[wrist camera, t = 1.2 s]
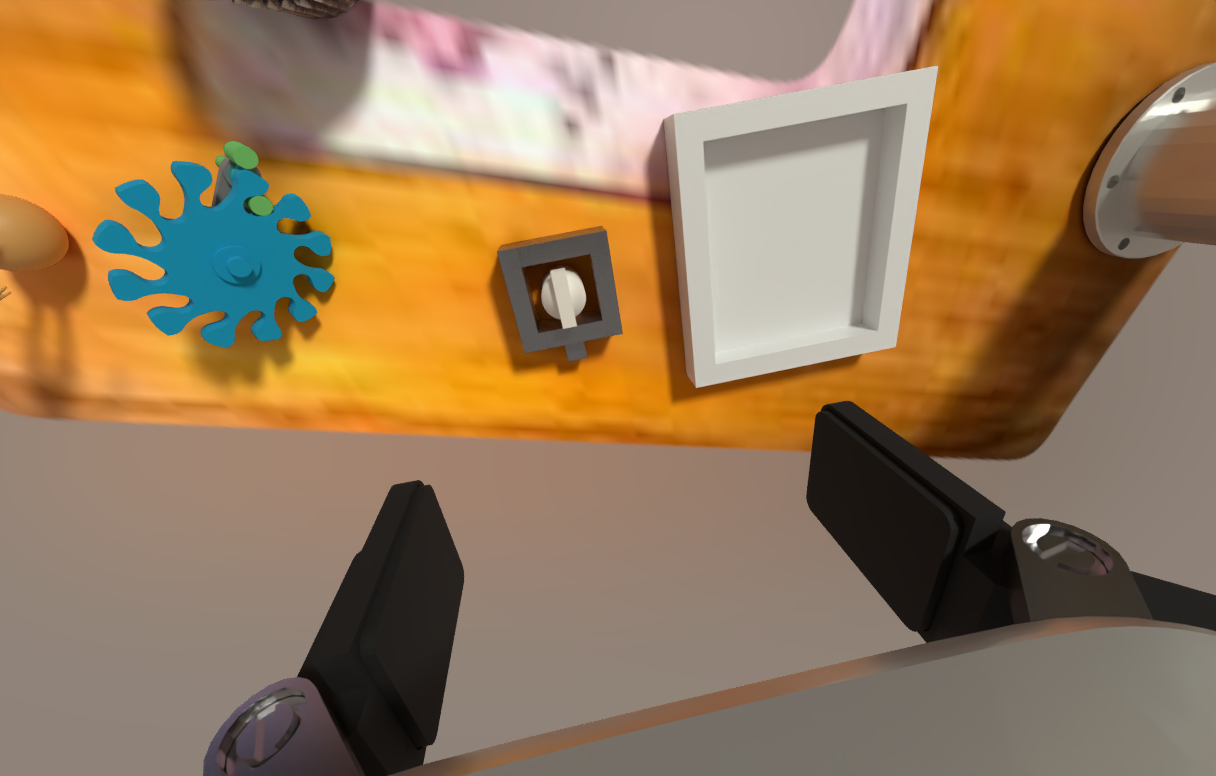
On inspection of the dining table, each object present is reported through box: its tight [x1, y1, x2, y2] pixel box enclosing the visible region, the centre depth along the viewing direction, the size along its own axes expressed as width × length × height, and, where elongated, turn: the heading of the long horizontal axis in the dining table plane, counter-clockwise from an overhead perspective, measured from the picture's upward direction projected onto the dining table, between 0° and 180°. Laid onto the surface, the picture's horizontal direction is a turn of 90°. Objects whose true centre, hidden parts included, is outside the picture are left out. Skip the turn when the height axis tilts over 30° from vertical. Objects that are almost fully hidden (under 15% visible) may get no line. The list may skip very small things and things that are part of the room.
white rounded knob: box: [541, 265, 586, 329], centre depth 29 cm, size 3×4×4 cm
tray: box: [663, 66, 938, 388], centre depth 30 cm, size 16×18×2 cm
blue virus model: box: [92, 141, 334, 348], centre depth 25 cm, size 11×6×10 cm
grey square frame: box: [497, 226, 623, 361], centre depth 30 cm, size 7×8×3 cm
